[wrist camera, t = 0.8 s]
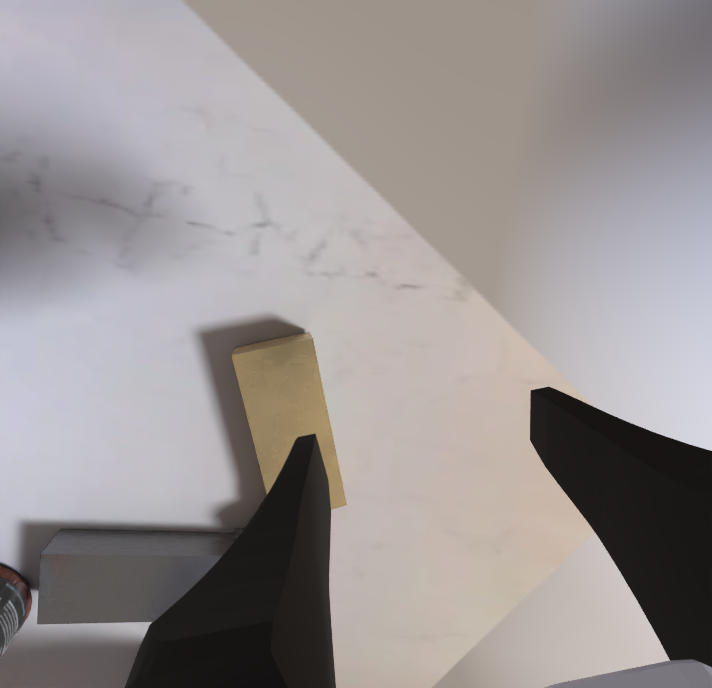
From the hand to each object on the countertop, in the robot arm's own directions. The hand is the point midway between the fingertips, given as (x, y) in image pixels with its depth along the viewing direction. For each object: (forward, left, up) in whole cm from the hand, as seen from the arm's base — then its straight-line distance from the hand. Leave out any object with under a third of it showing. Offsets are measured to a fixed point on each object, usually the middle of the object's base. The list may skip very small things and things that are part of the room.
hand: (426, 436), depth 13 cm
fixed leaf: (-16, +10, -16) cm, 25 cm away
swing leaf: (-8, +4, -15) cm, 18 cm away
